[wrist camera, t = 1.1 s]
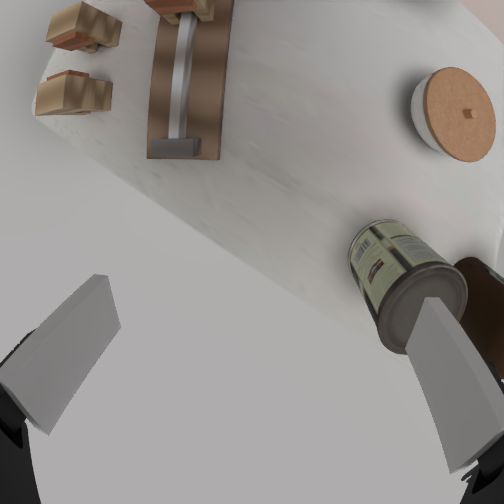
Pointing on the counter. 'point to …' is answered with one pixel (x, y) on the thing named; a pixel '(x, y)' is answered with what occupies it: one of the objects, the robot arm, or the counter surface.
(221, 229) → the counter surface
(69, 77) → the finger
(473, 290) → the olive oil
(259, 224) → the counter surface
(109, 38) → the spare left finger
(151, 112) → the rail board
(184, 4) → the block
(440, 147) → the lidded jar
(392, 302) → the coffee can
